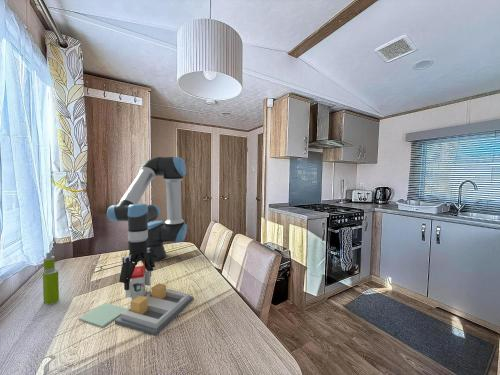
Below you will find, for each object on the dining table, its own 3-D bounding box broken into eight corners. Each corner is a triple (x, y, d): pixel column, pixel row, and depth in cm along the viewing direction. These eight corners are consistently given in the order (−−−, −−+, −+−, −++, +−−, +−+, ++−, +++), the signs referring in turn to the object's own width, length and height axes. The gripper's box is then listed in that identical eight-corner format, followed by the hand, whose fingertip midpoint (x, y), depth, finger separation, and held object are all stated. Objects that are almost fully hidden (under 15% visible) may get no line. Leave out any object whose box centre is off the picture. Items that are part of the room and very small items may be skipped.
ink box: (133, 292, 94) (133, 260, 93) (145, 290, 96) (145, 258, 95) (131, 302, 86) (130, 268, 86) (144, 300, 88) (144, 266, 88)
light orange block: (139, 308, 81) (139, 295, 80) (147, 310, 79) (147, 297, 79) (130, 314, 77) (130, 301, 77) (139, 316, 76) (139, 303, 75)
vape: (53, 296, 90) (52, 251, 89) (60, 300, 87) (58, 253, 86) (42, 301, 87) (40, 253, 86) (48, 305, 84) (46, 256, 83)
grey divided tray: (159, 291, 95) (159, 284, 95) (193, 299, 89) (193, 292, 89) (114, 323, 74) (114, 314, 74) (155, 336, 68) (155, 326, 68)
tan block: (158, 294, 90) (158, 283, 90) (166, 296, 89) (166, 284, 89) (151, 299, 86) (151, 287, 86) (159, 301, 85) (159, 289, 85)
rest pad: (105, 304, 85) (105, 302, 85) (127, 310, 81) (127, 308, 81) (78, 319, 76) (78, 318, 76) (102, 327, 72) (102, 326, 72)
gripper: (150, 232, 102) (151, 277, 103) (107, 246, 81) (108, 302, 82) (163, 234, 99) (163, 280, 100) (121, 248, 78) (122, 306, 79)
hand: (138, 290), depth 91 cm, fingers closed on ink box, 9 cm apart
